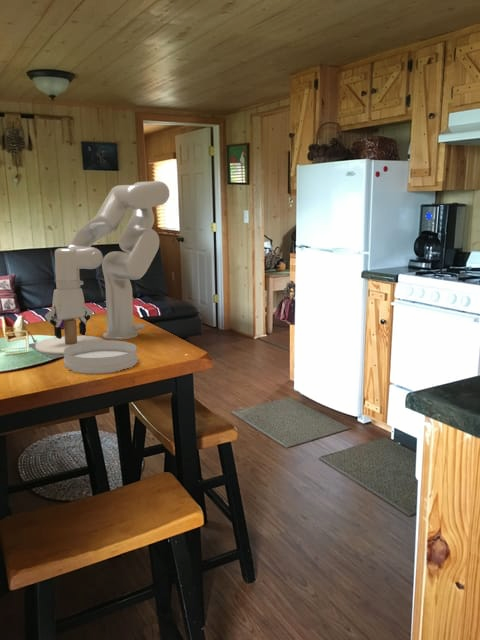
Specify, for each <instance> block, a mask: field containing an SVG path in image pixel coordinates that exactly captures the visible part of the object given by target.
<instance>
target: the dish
mask: <svg viewBox="0 0 480 640" xmlns="http://www.w3.org/2000/svg"><path fill="white" fill-rule="evenodd" d="M107 348H108V349H107ZM137 348H138V347H137V345H136V344H135V343H132V342H129V341H125V340H123V341H122V340H116V339H104V340H100V341H89V342H82V343H78V344H74V345H71V346H68V347H67V348H65V350H64V357H63V365H64V367H65V368H67V369H69V370H68V371H70V372H72V373H79V374H86V375H87V374H88V375H89V374H90V375H91V374H111V373H116V371H118V372H121V371H120V370H123V369H126V368H129V367H131V368H133V367H132V366H133V365H135V364H136V363H137V364H138V361H137V360H138V354H137ZM137 364H136V365H137ZM136 365H135V366H136ZM129 369H130V368H129ZM126 370H127V369H126ZM123 371H124V370H123Z"/></svg>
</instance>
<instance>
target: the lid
mask: <svg viewBox="0 0 480 640" xmlns="http://www.w3.org/2000/svg"><path fill="white" fill-rule="evenodd" d="M63 331H64V332H63V333H64V336H63V335H62V338H61V339H58V338H56V336H55V337H51V338H46V339H43V340H40V341H38V342H36V343H37V344H36V345H35V348H36V350H37V351H36V350H35V351H36V352H38V351H39V352H38V353H40V352H42V353H46V354H57V355H64V350H65V348H67V347H68V346H71V345H74V344H78V343H82V342H89V341H100V340H105V338H102V337H99V336H94V335H93V336H92V335H88V336H86V335H77V333H78V330H77V318H74V319H66V320H64V328H63ZM42 353H41V354H42Z"/></svg>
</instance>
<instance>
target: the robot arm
mask: <svg viewBox="0 0 480 640" xmlns="http://www.w3.org/2000/svg"><path fill="white" fill-rule="evenodd" d="M169 198H170V189H169V187H168V185H167V184H166V183H164V182H163V181H160V180H159V181H158V180H156V181H151V180H150V181H137V182H135V183H134V184H122V185H121V184H119V185H116V186H113V187H112V188H111V189H110V190H109V192H108V194H107V196H106V197H105V200H104V201H103V203H102V204H101V206H100V208H99V209H98V211H97V213H96V214H95V216H94V217H92V219H91V220H89V221H88V222H87V223H86V224H85V225H84V226H83V227H81V228H80V229H79V230H77V232H76V233H75V234H74V235H73V237H72V239H71V240H70V242H69V244H68V246H67V247H60V248H56V249H55V250H54V267H55V284H56V289H54V290H53V296H52V305H51V307H52V308H51V310H49V311H48V312H47V313H45V315H44V317H45V319H46V320H47V321H48V323H49V324H51V325H52V326H53V327H54V328H53V329H54V336H55V337H56V338H58V339H61V338H62V336H63V335H62V334H63V333H62V328H61V327H60V324H61V322H62V320H66V319H78V320H79V323H78V330H79V335H80V336H86V332H87V323H88V321H89V320H90V319H91V316H93V315H92V314H93V313H94V310H93V309H91V308H89V307H88V306H86V303H85V296H84V292H83V289H82V288H81V286H83V285H84V281H83V280H81V279H80V270H82V269H84V270H85V269H86V270H94V269H97V268H98V267H99V268H100V266H101V268H102V274H103V277H104V285H105V302H106V303H105V306H106V308H105V309H106V331H105V332H104V333H103V334H102V337H103V339H106V340H129V339H133V338H136V337H137V336H138V331H139V330H145V329H146V326H145V323H143V324H136V323H134V311H133V310H134V309H133V308H134V307H133V305H134V304H133V302H134V301H133V288H132V287H133V286H132V284H131V283H132V282H131V280H133V281H136V280H140V279H142V277H143V276H144V275H145V274H146V273H147V271H148V269H149V268H150V266H151V264H152V262H153V260H154V258H155V257H156V255H157V252H158V250H159V248H160V237H159V234H158V233H157V232H156V231H155V230H154V229H153V226H154V225H155V214H154V211H153V208H155V207H157V206H162V205H165V204H166V203H167V202H168V200H169ZM129 210H132V214H131V217H130V219H129V220H128V222H127V224H126V225H125V227H124V229H123V231H122V233H121V235H120V237H119V240H118V244H119V245H118V246H119V249H120V250H122V251H119V250H118V251H110V252H108V253H107V254H105V255H103V253H102V251H101V250H99V249H98V248H97V247H94V246H93V244H95V243H96V242H97V241H99V240H101V239H102V238H104V237H107V236H109V235H112V234H113V233H115V232H116V231H117V229H118V228H119V226H120V225H121V223H122V221H123V219H124V218H125V216H126V214H127V213H128V211H129ZM92 246H93V247H92ZM52 317H53V318H54V319H53V318H52ZM55 318H56V319H55Z"/></svg>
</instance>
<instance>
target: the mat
mask: <svg viewBox="0 0 480 640" xmlns="http://www.w3.org/2000/svg"><path fill="white" fill-rule="evenodd" d="M85 336H89V335H86V334H85ZM37 343H38V342H33V343H28V344H29V348H31V349H33V350H34V351H36V352H38V353H41V354H42V355H44V356H46V357H48V358H49V359H52V360H53V359H59V358H64V355H57V354H46V353H42V352H39V351H37V350H36V348H35V345H36V344H37ZM107 349H108V348H107Z"/></svg>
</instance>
